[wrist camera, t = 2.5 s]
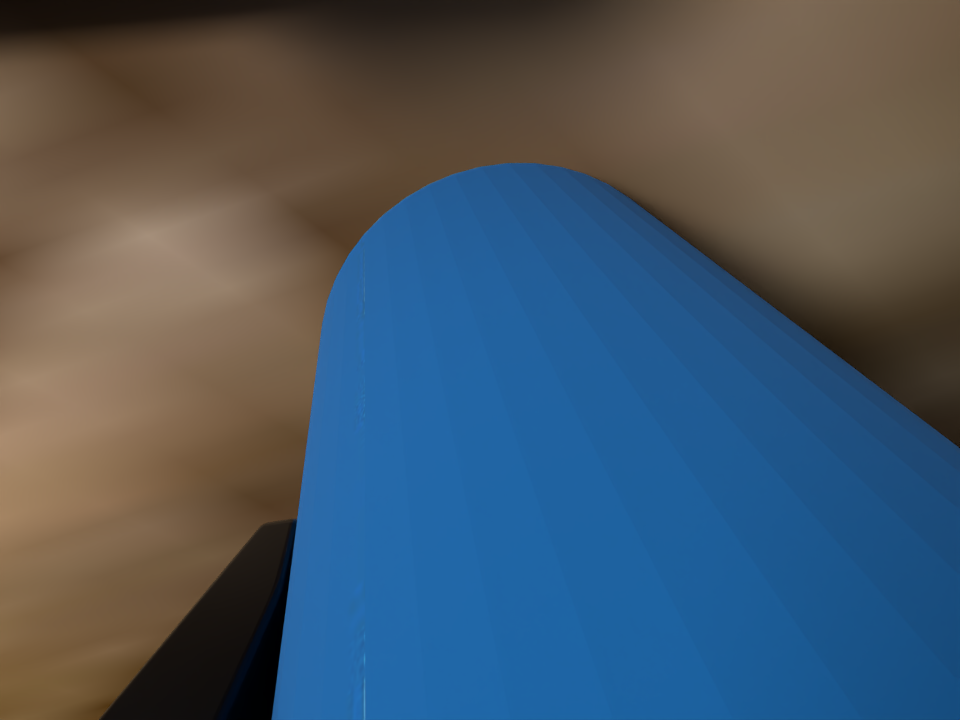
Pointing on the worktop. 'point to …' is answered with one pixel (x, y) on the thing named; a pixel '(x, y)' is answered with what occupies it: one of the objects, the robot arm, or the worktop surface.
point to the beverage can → (602, 485)
